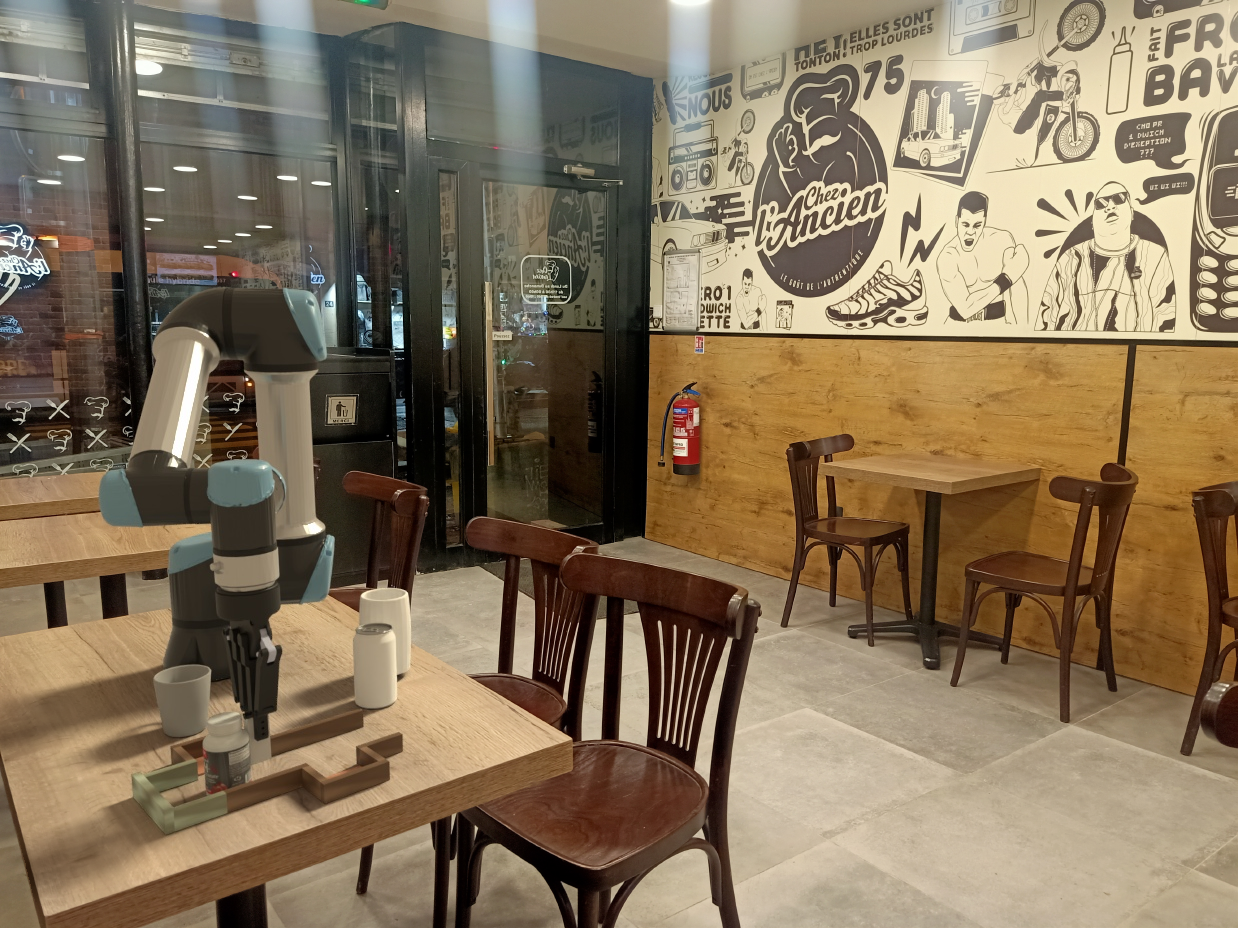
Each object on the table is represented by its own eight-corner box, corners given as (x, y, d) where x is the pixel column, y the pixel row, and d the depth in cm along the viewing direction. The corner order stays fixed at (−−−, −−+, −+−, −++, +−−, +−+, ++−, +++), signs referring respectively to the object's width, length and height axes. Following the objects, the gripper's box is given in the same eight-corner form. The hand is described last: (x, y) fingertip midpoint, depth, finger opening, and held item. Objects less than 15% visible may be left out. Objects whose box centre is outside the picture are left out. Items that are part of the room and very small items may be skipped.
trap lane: (118, 779, 117) (116, 757, 117) (340, 712, 138) (340, 693, 138) (184, 856, 100) (182, 830, 100) (426, 765, 121) (426, 744, 121)
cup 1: (158, 745, 127) (154, 687, 126) (154, 719, 136) (150, 664, 134) (217, 733, 131) (214, 677, 130) (209, 709, 139) (206, 656, 138)
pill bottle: (196, 795, 113) (191, 721, 112) (231, 777, 118) (227, 705, 116) (227, 805, 111) (222, 730, 109) (261, 786, 116) (257, 713, 114)
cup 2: (421, 669, 156) (419, 590, 154) (394, 687, 149) (392, 603, 147) (379, 663, 159) (377, 585, 157) (350, 680, 151) (347, 598, 149)
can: (386, 711, 139) (383, 636, 137) (347, 708, 140) (344, 633, 138) (404, 695, 145) (402, 623, 143) (367, 692, 146) (364, 620, 145)
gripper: (197, 579, 116) (209, 753, 119) (238, 599, 107) (251, 787, 110) (255, 568, 121) (265, 735, 124) (299, 587, 112) (309, 767, 115)
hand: (258, 759), depth 117 cm, fingers closed
